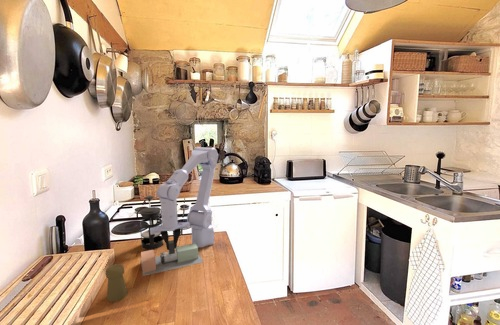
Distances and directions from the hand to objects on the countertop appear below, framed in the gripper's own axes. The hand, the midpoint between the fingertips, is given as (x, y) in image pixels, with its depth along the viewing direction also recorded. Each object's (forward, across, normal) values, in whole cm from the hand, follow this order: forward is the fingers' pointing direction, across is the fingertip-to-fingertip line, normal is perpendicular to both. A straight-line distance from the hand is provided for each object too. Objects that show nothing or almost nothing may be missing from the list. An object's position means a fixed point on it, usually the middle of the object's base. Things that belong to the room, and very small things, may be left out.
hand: (171, 248), depth 105 cm
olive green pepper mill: (+7, -19, -14) cm, 25 cm away
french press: (+7, -5, +18) cm, 20 cm away
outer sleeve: (+5, +6, 0) cm, 8 cm away
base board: (+6, 0, 0) cm, 6 cm away
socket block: (+5, -9, 0) cm, 10 cm away
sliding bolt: (+5, +3, 0) cm, 6 cm away
